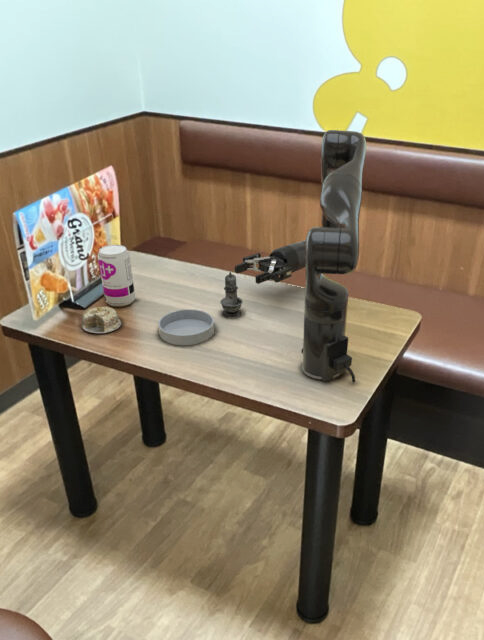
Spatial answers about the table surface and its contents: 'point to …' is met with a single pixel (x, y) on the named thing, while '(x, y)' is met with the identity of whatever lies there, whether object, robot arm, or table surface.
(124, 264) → the supplement can
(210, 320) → the tin
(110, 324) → the cake
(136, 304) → the table surface
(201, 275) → the table surface
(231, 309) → the dark grey chess piece
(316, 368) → the robot arm
